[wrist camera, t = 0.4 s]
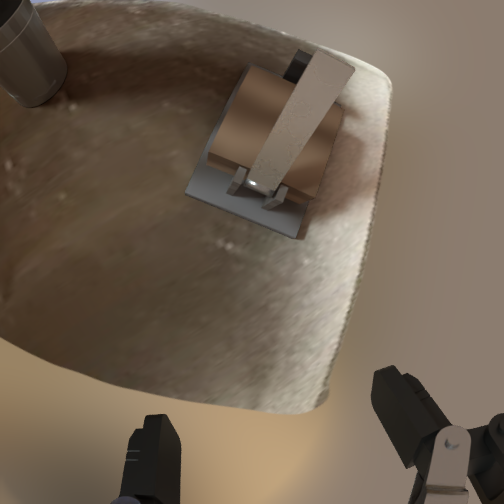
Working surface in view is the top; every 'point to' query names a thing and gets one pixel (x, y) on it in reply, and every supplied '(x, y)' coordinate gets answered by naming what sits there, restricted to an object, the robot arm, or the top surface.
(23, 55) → the robot arm
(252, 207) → the latch block
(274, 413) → the top surface
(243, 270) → the top surface
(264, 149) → the strap
